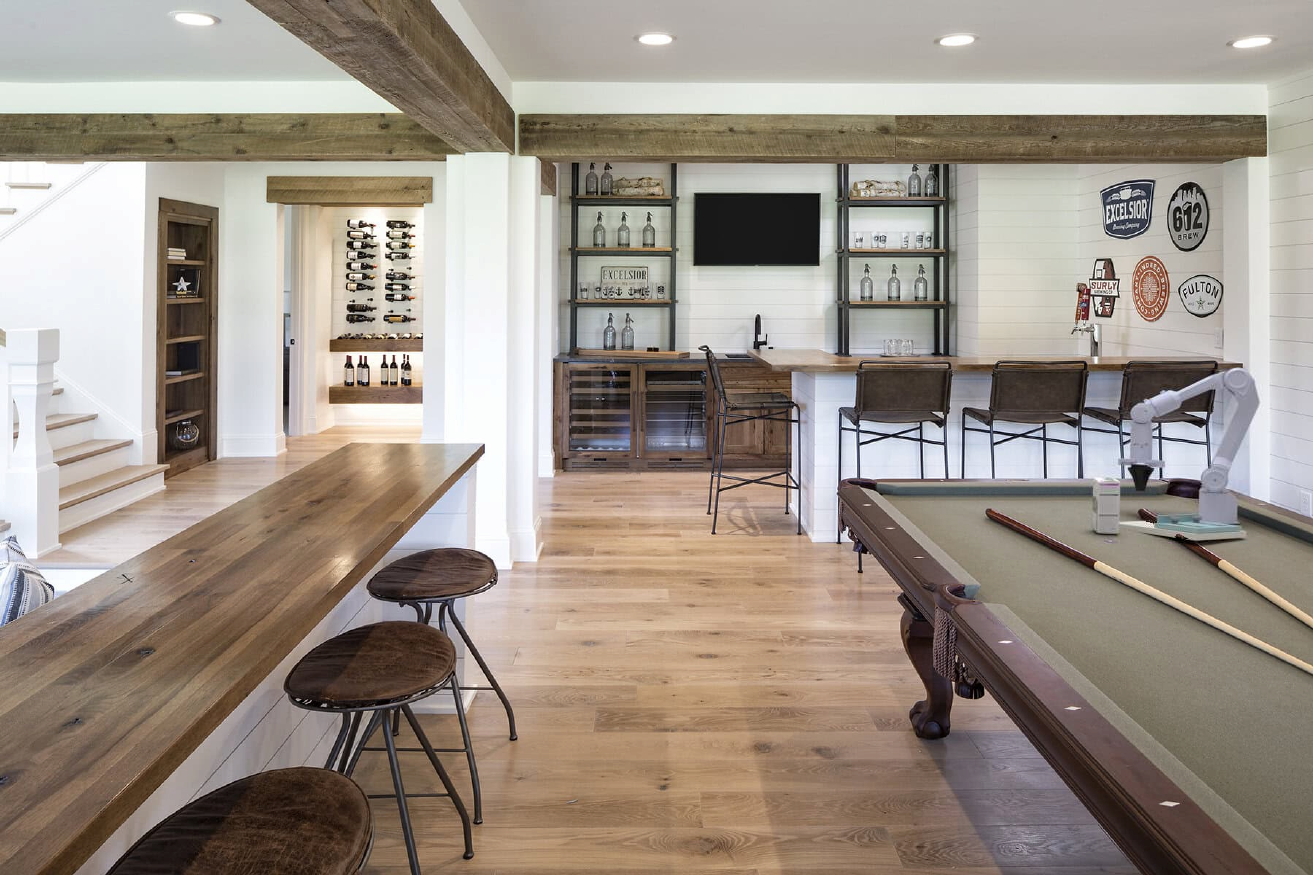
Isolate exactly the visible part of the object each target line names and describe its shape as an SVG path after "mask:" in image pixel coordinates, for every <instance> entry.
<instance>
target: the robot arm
mask: <svg viewBox="0 0 1313 875" xmlns="http://www.w3.org/2000/svg"><path fill="white" fill-rule="evenodd" d="M1224 388H1225V389H1226V390H1227V391H1228V392H1230V393H1231V394H1232V395H1233V397H1234V399H1235V401H1236V403H1237V404H1238V405H1237V407H1236V410H1235V412H1234V414H1233V416H1232V417H1231V421H1230V423H1229V425H1228V426H1227V428H1226V432H1225V433H1224V435H1223V437H1222V440H1221V441H1220V444H1219V445H1218V448H1217V450H1216V452H1215V454H1214V457H1213V458H1212V460H1211V463H1210V464H1209V466H1208V467H1207V468H1206V469H1204V470H1203V471H1202V473H1201V475H1200V482H1201V483H1202V485H1203V487H1202V488H1200V489H1199V491H1198V494H1199V495H1198V516H1201V517H1202V520H1200V521H1203V522H1212V523H1220V524H1228V525H1235V524H1236V525H1237V524H1240V523H1241V522H1240V521H1238V499H1237V497H1236V495H1235V494H1234V493H1233V492H1230V489H1227V488H1226V487H1227V486H1228V485H1229V472H1230V470H1231V467H1232V464H1233V462H1234V460H1235V458H1236V455H1237V453H1238V451H1239V449H1240V447H1241V444H1242V443H1243V440H1244V438H1245V436H1246V434H1247V432H1248V429H1249V428H1250V425H1251V423H1252V421H1253V419H1254V417H1255V415H1256V413H1257V411H1258V408H1259V406H1260V404H1261V402H1260V399H1259V395H1258V390H1257V387H1256V380H1255V378H1253V376H1252V375H1251V374H1250V372H1249V371H1248V369H1247V370H1246V369H1245V368H1242V367H1233V368H1231V369H1229V370H1228V371H1222V372H1219V373H1216V374H1211V375H1209V376H1207V377H1204V378H1202V379H1201V380H1199V381H1197V382H1195V383H1193V384H1191V385H1189V386H1186V387H1184V388H1181V389H1180V390H1178V391H1174V390H1171V389H1170V390H1167V391H1166V390H1162V391H1160V392H1159V393H1160V394H1158V395H1155V396H1154V397H1151V398H1149V399H1147V398H1144V399H1143V402H1139V403H1137V404H1136V405H1134V406H1133V407H1132V408H1131V410H1130V418H1131V422H1130V426H1131V428H1130V436H1129V437H1130V438H1129V442H1130V445H1129V446H1130V447H1129V449H1130V450H1129V451H1130V454H1129V458H1117V459H1118V460H1117V465H1118V466H1128V467H1127V471H1128V473H1129V474H1130V476H1131V478H1132V480H1133V483H1134V487H1135V491H1136V492H1145V491H1146V487H1147V484H1148V481H1149V479H1150V478H1151V475H1152V474H1153V472H1154V471H1155V468H1161V469H1162V468H1165V467H1166V465H1165V464H1166V461H1165V460H1160V459H1159V460H1158V459H1153V430H1154V429H1153V428H1152V425H1153V424H1152V420H1153V418H1154V417H1155V418H1159V417H1161V416H1162V417H1163V416H1164V415H1165V414H1168V413H1171V412H1173V411H1175V410H1177V409H1180V407H1181V405H1182V402H1183V401H1186V400H1188V399H1191V398H1194V397H1195V396H1198V395H1200V394H1202V393H1205V392H1207V391H1210V390H1223V389H1224Z"/></svg>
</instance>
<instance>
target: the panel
mask: <svg viewBox="0 0 1313 875" xmlns="http://www.w3.org/2000/svg"><path fill="white" fill-rule="evenodd" d="M1192 516H1199V513H1184V514H1183V513H1181V514H1180V513H1179V514H1163V515H1162V514H1161V515H1160V514H1159V515H1156V521H1157V523H1154V527H1155V528H1162V529H1170V530H1177V531H1184V532H1192V533H1211V532H1229V531H1243V526H1242V525H1237V524H1236V525H1235V524H1220V523H1212V522H1203V521H1200V523H1194V520H1193V519H1191V518H1192ZM1170 517H1179V518H1180V521H1178V524H1172V521H1171V520H1170Z"/></svg>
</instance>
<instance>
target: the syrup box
mask: <svg viewBox="0 0 1313 875" xmlns="http://www.w3.org/2000/svg"><path fill="white" fill-rule="evenodd" d="M1092 483H1093V485H1092V512H1091V513H1092V514H1091V516H1092V517H1091V529H1092V530H1093V531H1095V533H1097V534H1110V535H1111V534H1113V535H1114V534H1116V535H1118V534H1119V531H1120V527H1119V522H1120V506H1121V481H1119V480H1118V479H1116V478H1115V477H1107V476H1106V477H1105V476H1104V477H1093V482H1092Z"/></svg>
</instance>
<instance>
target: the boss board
mask: <svg viewBox="0 0 1313 875" xmlns="http://www.w3.org/2000/svg"><path fill="white" fill-rule="evenodd" d="M1191 519H1193V520H1194V523H1200V520H1202V517H1201V516H1199V515H1198V516H1192V518H1191ZM1170 520H1171V521H1172V524H1178V521H1180V518H1179V517H1170ZM1146 521H1147V520H1136V521H1135V520H1134V521H1131V520H1130V521H1119V528H1121V529H1125V530H1129V531H1134V532H1138V533H1143V534H1149V535H1156V536H1164V537H1168V538H1169V537H1171V538H1176V537H1175V536H1176V534H1180V535H1182V536H1184V537H1187V538H1188V539H1187V540H1190V541H1206V540H1207V541H1211V540H1223V539H1224V540H1225V539H1226V540H1227V539H1243V538H1245V539H1246V538H1247V531H1246V530H1242V531H1229V532H1211V533H1192V532H1184V531H1177V530H1170V529H1162V528H1155V527H1154V524H1153V523H1150V522H1146Z"/></svg>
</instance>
